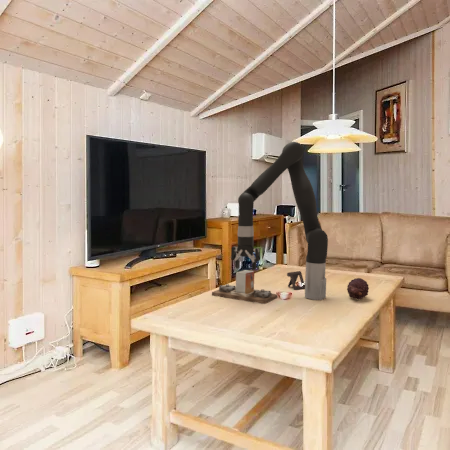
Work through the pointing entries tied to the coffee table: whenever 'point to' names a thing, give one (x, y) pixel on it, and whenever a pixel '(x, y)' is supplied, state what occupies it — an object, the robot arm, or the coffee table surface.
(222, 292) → the gear board
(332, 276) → the coffee table surface
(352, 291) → the pine cone
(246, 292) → the small box
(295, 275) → the portable electronic device stand
